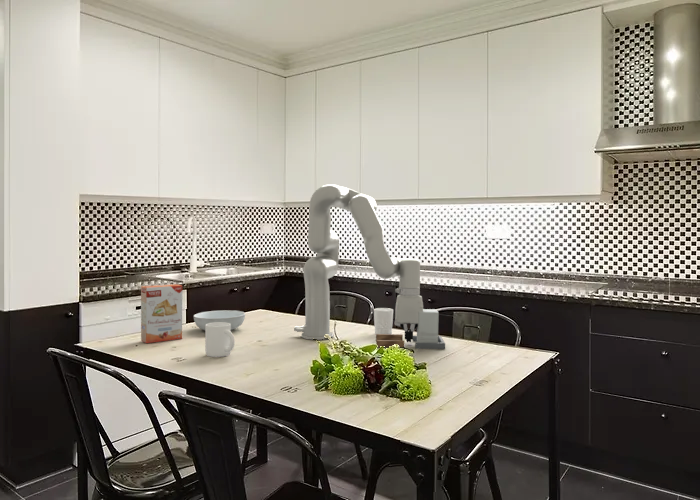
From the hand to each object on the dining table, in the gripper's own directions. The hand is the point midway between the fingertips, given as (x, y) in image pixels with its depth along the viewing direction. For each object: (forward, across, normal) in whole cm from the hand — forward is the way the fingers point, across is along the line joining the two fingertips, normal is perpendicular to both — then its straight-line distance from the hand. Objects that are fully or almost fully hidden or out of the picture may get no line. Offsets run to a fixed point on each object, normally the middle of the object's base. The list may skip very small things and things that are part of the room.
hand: (408, 341), depth 199 cm
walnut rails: (+1, -7, 0) cm, 7 cm away
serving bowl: (+2, -77, +22) cm, 80 cm away
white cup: (+1, -9, +19) cm, 21 cm away
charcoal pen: (+1, +7, 0) cm, 7 cm away
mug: (+2, -64, -21) cm, 67 cm away
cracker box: (+2, -93, +1) cm, 93 cm away
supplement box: (+1, +7, 0) cm, 7 cm away
